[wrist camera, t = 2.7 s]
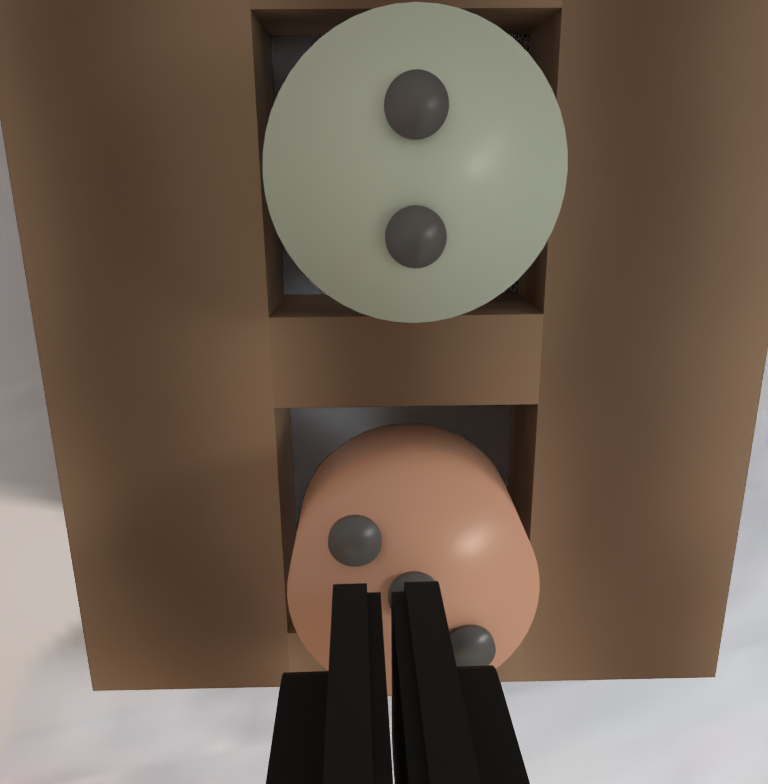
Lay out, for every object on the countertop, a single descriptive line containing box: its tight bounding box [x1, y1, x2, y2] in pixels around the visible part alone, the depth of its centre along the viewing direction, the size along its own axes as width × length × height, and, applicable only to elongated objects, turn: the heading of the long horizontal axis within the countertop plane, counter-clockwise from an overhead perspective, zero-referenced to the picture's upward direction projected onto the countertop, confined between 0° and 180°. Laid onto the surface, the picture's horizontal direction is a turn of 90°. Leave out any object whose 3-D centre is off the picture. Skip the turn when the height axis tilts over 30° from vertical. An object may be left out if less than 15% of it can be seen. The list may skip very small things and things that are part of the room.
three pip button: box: [287, 424, 540, 696], centre depth 13 cm, size 4×4×3 cm
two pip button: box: [263, 2, 568, 323], centre depth 11 cm, size 4×4×3 cm
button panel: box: [0, 0, 768, 691], centre depth 14 cm, size 14×22×2 cm, turn 1°
